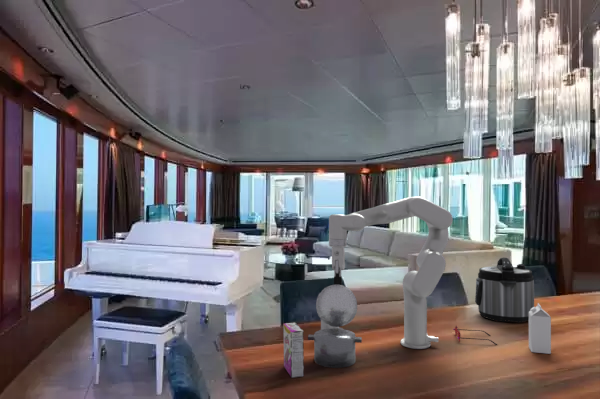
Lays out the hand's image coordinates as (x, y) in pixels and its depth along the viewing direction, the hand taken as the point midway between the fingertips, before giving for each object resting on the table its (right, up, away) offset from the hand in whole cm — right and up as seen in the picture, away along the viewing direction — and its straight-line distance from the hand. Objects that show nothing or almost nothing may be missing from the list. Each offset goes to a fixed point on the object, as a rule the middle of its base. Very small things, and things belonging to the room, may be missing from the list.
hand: (337, 285), depth 189 cm
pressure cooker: (+92, -26, +46) cm, 106 cm away
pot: (-3, -26, -17) cm, 31 cm away
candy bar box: (-19, -26, -28) cm, 43 cm away
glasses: (+62, -27, +9) cm, 68 cm away
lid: (-1, -7, -7) cm, 10 cm away
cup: (-3, -26, +7) cm, 27 cm away
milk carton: (+83, -26, -6) cm, 87 cm away
